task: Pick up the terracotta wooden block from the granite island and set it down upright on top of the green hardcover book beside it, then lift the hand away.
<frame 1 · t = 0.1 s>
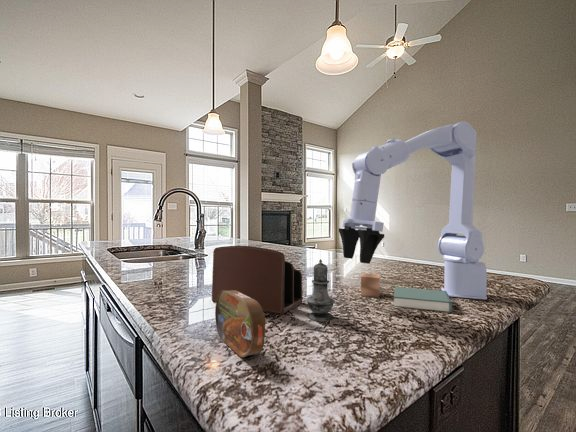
hand: (356, 260, 72), 10 cm above the countertop, tool pointing down, fingers open, 7 cm apart
tin: (238, 346, 51), on the countertop
letter holder: (256, 303, 75), on the countertop
book: (420, 304, 74), on the countertop
salt shaker: (320, 317, 64), on the countertop
block: (370, 294, 82), on the countertop
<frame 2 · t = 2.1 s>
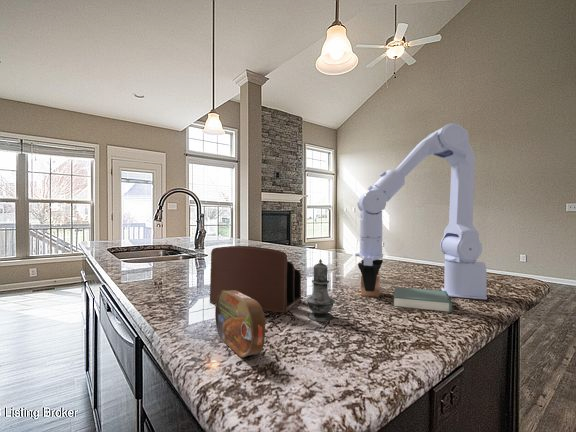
hand: (370, 288, 82), 1 cm above the countertop, tool pointing down, fingers closed on block, 4 cm apart
block: (370, 294, 82), on the countertop, touching gripper
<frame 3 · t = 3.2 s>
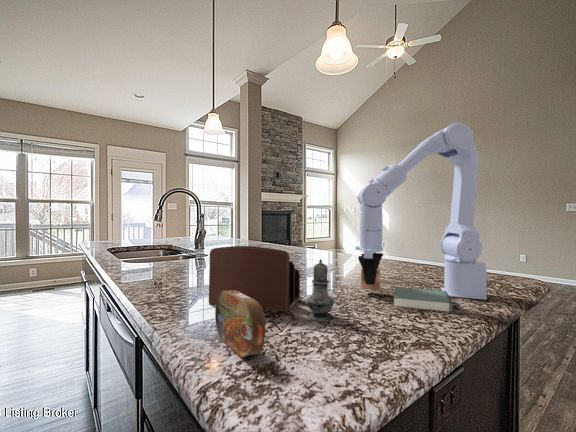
hand: (370, 282, 82), 3 cm above the countertop, tool pointing down, fingers closed on block, 4 cm apart
block: (370, 287, 82), point 2 cm above the countertop, touching gripper
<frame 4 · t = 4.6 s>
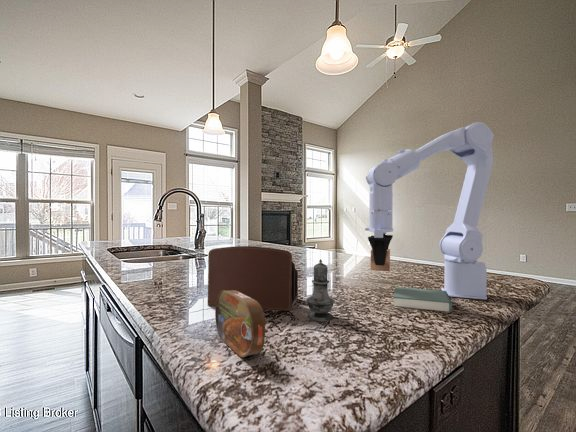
hand: (380, 263, 80), 8 cm above the countertop, tool pointing down, fingers closed on block, 4 cm apart
block: (380, 269, 80), point 7 cm above the countertop, touching gripper
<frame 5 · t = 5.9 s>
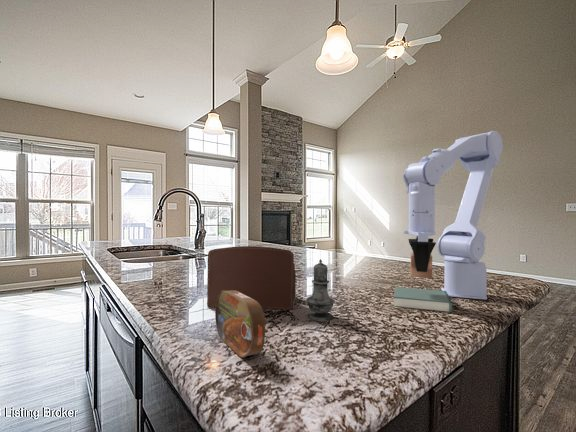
hand: (420, 269, 74), 8 cm above the countertop, tool pointing down, fingers closed on block, 4 cm apart
block: (420, 275, 74), point 7 cm above the countertop, touching gripper
when the fingers open (5 cm above the countertop, at t = 7.0 s): block drops 1 cm, point 2 cm above the countertop.
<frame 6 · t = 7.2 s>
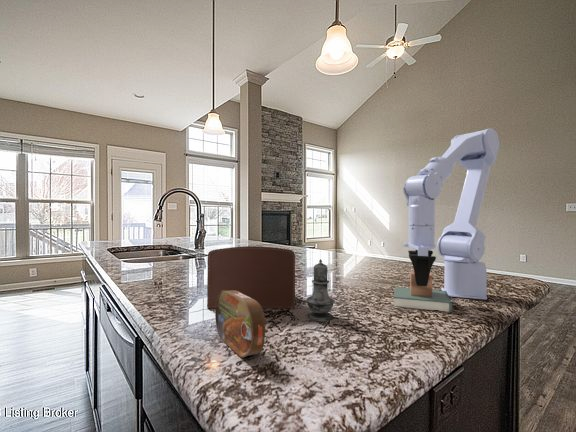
hand: (420, 282, 74), 5 cm above the countertop, tool pointing down, fingers open, 6 cm apart
block: (420, 293, 74), point 2 cm above the countertop
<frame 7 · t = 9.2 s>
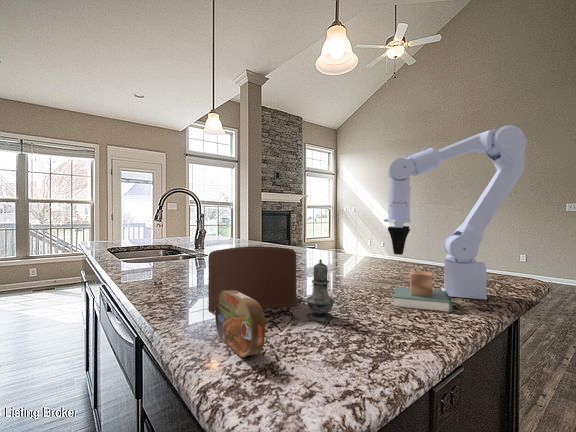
hand: (398, 252, 86), 10 cm above the countertop, tool pointing down, fingers open, 7 cm apart
book: (420, 304, 74), on the countertop, touching block
block: (420, 293, 74), point 2 cm above the countertop, touching book
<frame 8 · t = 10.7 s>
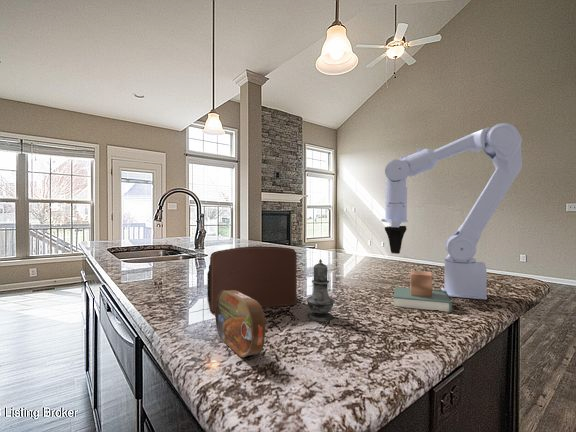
hand: (395, 251, 88), 10 cm above the countertop, tool pointing down, fingers open, 7 cm apart
at the end: block inside the target area on the book (0.2 cm from its centre), point 2.5 cm above the book's base; block tilted 0°; block touching nothing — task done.
